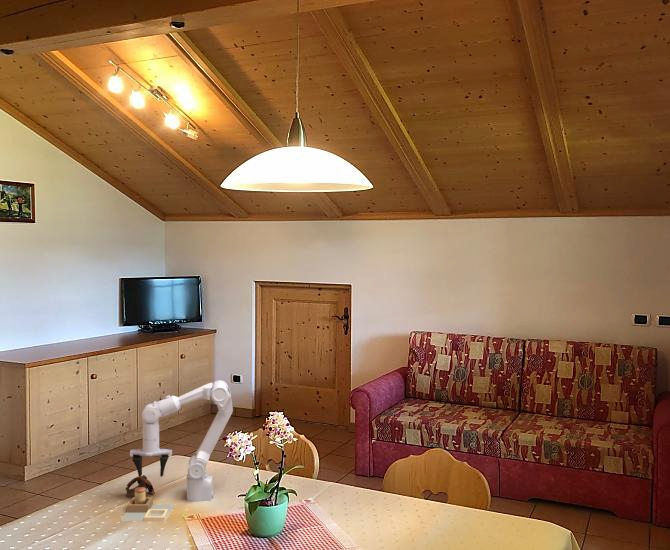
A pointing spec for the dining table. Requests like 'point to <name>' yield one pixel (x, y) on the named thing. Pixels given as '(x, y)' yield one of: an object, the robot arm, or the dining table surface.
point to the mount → (147, 511)
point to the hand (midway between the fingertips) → (151, 475)
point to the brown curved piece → (142, 483)
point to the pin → (140, 495)
